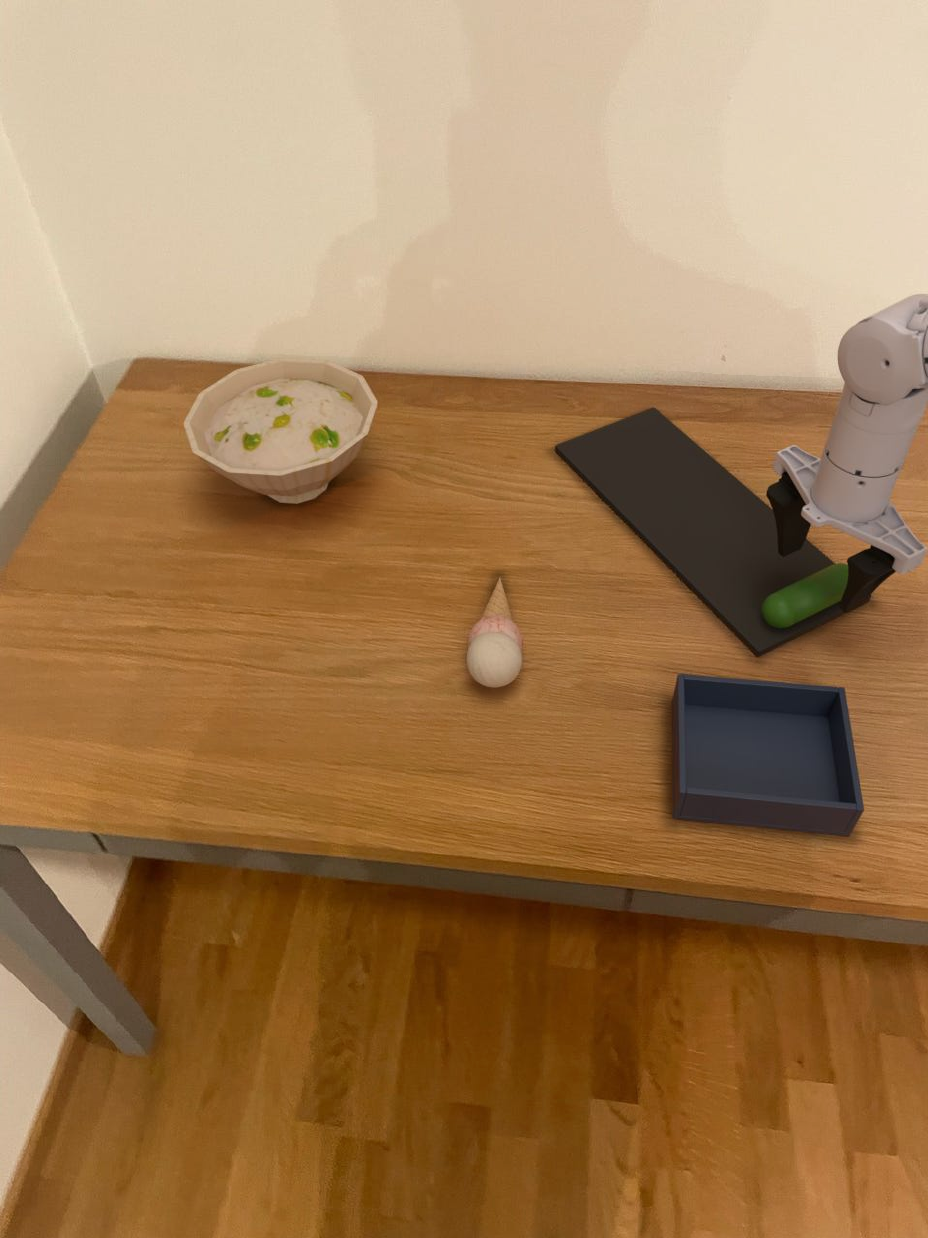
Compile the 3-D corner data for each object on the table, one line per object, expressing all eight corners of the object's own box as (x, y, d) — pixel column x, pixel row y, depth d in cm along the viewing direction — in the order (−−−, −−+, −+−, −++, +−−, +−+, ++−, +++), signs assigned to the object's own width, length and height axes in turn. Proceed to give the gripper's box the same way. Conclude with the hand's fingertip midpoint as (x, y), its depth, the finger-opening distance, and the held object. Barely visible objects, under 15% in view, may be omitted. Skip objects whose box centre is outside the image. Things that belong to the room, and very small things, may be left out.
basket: (831, 716, 76) (844, 687, 73) (849, 836, 69) (864, 810, 66) (671, 702, 78) (677, 673, 75) (672, 818, 71) (679, 792, 68)
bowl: (381, 416, 105) (371, 339, 98) (393, 533, 93) (382, 454, 85) (211, 434, 104) (187, 357, 97) (199, 555, 92) (171, 477, 84)
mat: (869, 601, 84) (872, 595, 84) (757, 657, 81) (759, 651, 80) (653, 412, 104) (653, 406, 103) (554, 451, 100) (554, 445, 99)
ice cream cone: (489, 603, 90) (481, 706, 78) (466, 567, 88) (454, 666, 76) (533, 586, 88) (531, 688, 76) (511, 548, 86) (505, 647, 74)
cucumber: (837, 578, 85) (843, 551, 83) (863, 597, 83) (870, 570, 81) (751, 619, 83) (756, 593, 80) (776, 640, 80) (781, 614, 78)
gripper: (758, 420, 73) (728, 544, 83) (897, 529, 64) (844, 652, 74) (826, 391, 75) (789, 516, 85) (970, 493, 66) (909, 618, 76)
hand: (819, 577), depth 80 cm, fingers open, 7 cm apart
